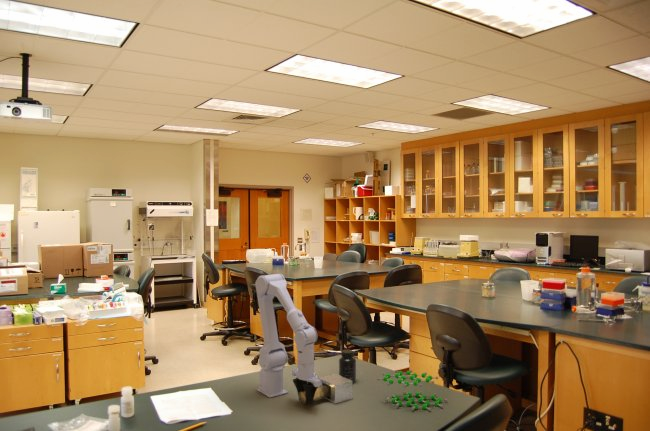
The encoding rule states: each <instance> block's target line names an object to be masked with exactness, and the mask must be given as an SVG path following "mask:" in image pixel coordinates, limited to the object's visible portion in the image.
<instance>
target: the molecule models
mask: <svg viewBox="0 0 650 431" xmlns="http://www.w3.org/2000/svg"><path fill="white" fill-rule="evenodd" d="M394 373H395V374H394V375H393V374H390V373H387V374H386V373H385V372H382V376H383V377H382V378H381V377H377V378H376V380H377V381H383V382H387V383H386V386H390V385H393V384H394V383H398V384H399V385H401V384H403V388H407V387H410V385H413V386H414V387H417V386H419V387H421V388H422V387H423V384H422V383H421V382H425V383H427V384H429V383H431V384H432V385H433V384H435V381H434V380H433V379H435V380H438V379H439V376H432V375H431V374H430V375H427V372H425V371H424V372H422V373H421V374H417V373H416V372H413V370H412V369H410V370H407V371H406V372H403V371H402V370H399V371H398V370H394ZM405 375H407V376H408V377H407V376H405ZM391 377H392V378H393V377H394V378H396V379H397V380H393V379H391ZM420 377H421V378H423V379H421V378H420ZM424 378H425V379H424ZM405 380H410V381H413V382H409V381H405ZM403 394H404V396H399V394H396V395H395V394H393V393H392V394H391V397H392V398H391V399H388V398H386V399H385V402H387V403H388V402H391V403H392V404H395V403H396V405H395V406H396V408H398V407H400V406H402V405H407V406H409V407H410V406H411V408H410V409H411V410H412V411H414V410H417V409H419V408H422V409H423V410H428V411H429V412H430V411H431V410H432V408H431V407H430V405H433V406H435V407H438V406H439V407H440V408H444V404H441V403H442V402H446V403H447V402H448V399H447V398H445V399H442V398H441V397H438V398H436V396H437V393H436V392H434V393H433V394H431V395H430V396H427V395H426V394H423V395H422V391H421V390H420V391H417V392H415V393H412V392H410V391H409V392H407V391H403ZM412 396H416V398H418V399H415V398H414V397H412ZM400 399H404V400H405V401H406V402H403V401H402V400H400ZM427 399H430V400H432V401H433V400H435V401H434V402H430V401H429V400H427ZM425 400H426V401H425ZM415 402H419V403H420V404H421V403H423V404H422V405H418V404H417V403H415ZM413 403H414V404H413Z"/></svg>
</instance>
